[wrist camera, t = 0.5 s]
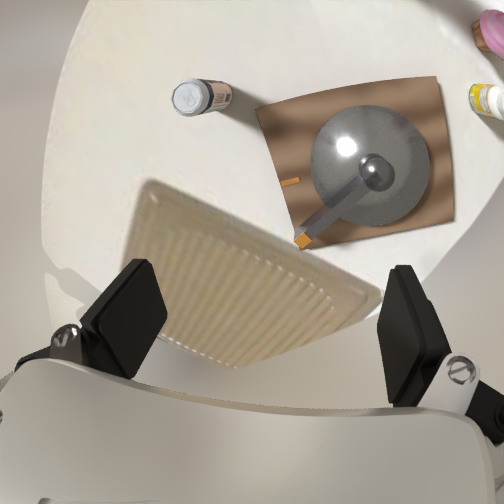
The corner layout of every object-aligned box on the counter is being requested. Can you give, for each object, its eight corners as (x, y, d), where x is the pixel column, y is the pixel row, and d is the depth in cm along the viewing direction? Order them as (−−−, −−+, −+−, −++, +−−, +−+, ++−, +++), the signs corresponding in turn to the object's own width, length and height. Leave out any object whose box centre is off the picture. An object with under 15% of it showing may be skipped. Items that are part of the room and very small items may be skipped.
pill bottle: (221, 75, 35) (190, 70, 25) (239, 98, 37) (214, 100, 27) (197, 93, 37) (160, 96, 27) (214, 116, 39) (183, 125, 29)
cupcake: (457, 11, 20) (487, -1, 11) (493, 21, 17) (525, 15, 9) (469, 58, 24) (503, 56, 16) (504, 66, 22) (538, 68, 13)
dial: (371, 80, 30) (382, 77, 25) (443, 173, 34) (460, 186, 29) (257, 188, 42) (250, 202, 37) (335, 261, 46) (337, 282, 41)
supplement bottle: (461, 100, 29) (494, 106, 21) (472, 77, 26) (505, 78, 18) (482, 120, 29) (515, 131, 21) (493, 97, 26) (526, 104, 18)
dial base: (257, 108, 37) (254, 109, 36) (430, 76, 28) (436, 76, 27) (300, 244, 48) (300, 250, 46) (448, 215, 39) (453, 220, 38)
